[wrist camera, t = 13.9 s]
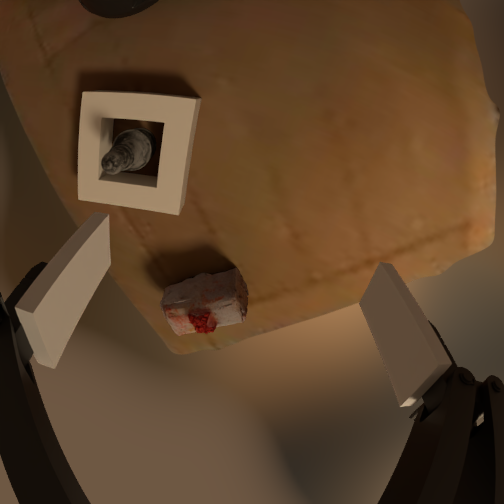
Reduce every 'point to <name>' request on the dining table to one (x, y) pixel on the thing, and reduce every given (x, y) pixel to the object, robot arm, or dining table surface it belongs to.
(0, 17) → the dining table surface
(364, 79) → the dining table surface
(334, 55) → the dining table surface
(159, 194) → the square frame
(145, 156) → the dark chess piece
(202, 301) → the food item
